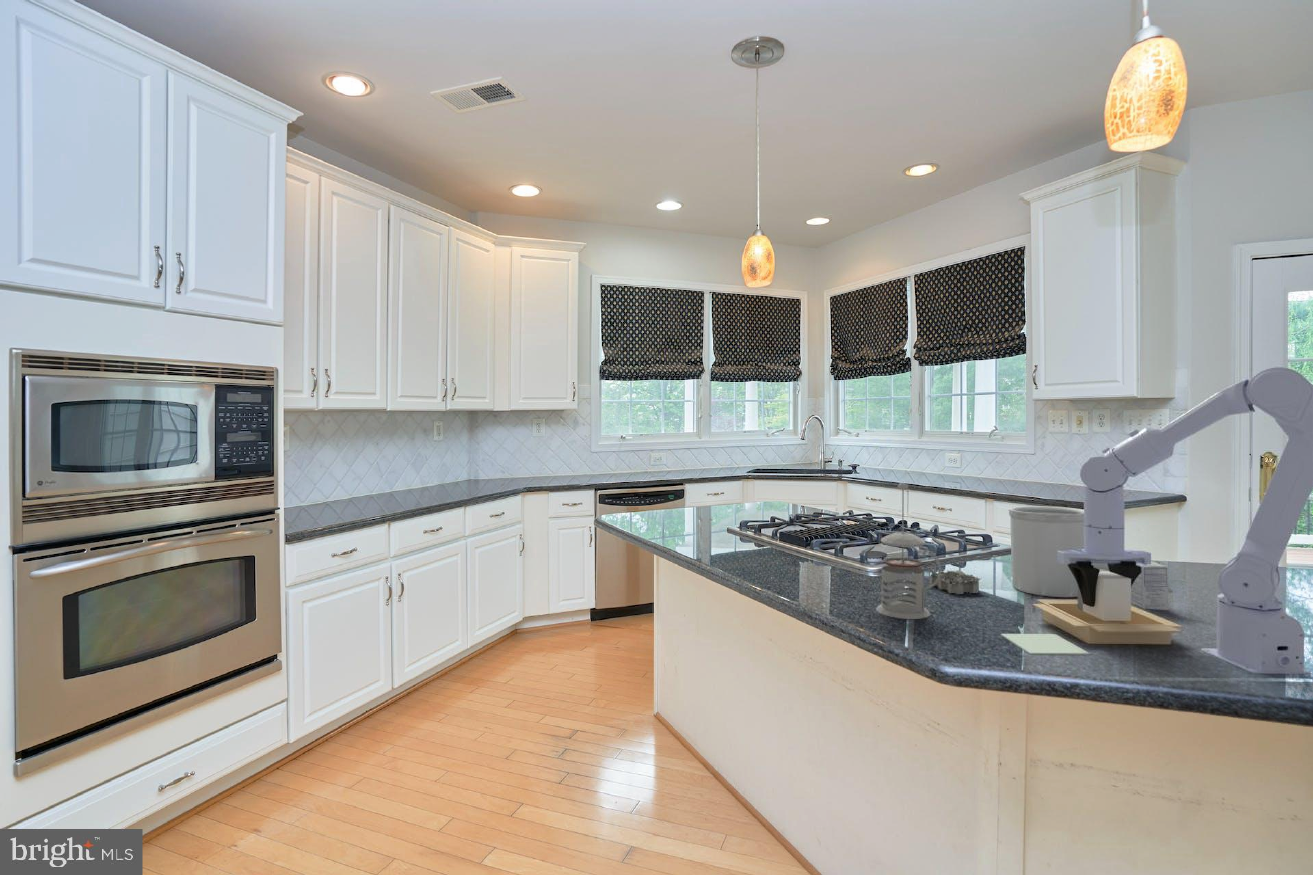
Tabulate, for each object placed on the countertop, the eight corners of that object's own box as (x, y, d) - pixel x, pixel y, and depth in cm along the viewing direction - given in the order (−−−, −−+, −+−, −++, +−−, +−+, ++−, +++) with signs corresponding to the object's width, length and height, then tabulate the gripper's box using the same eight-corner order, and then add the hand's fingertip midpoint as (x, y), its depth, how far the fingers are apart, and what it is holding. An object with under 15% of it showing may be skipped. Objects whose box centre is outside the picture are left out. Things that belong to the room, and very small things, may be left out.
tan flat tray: (1196, 651, 100) (1196, 630, 100) (1085, 651, 101) (1085, 629, 101) (1117, 617, 118) (1117, 599, 118) (1024, 616, 119) (1024, 598, 119)
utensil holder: (993, 584, 143) (993, 507, 142) (1041, 578, 148) (1041, 503, 148) (1054, 601, 129) (1055, 515, 129) (1105, 594, 134) (1105, 511, 134)
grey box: (1130, 620, 106) (1130, 578, 106) (1103, 620, 106) (1103, 578, 106) (1103, 608, 113) (1103, 569, 113) (1077, 608, 113) (1077, 569, 113)
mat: (1089, 656, 99) (1089, 653, 99) (1030, 656, 99) (1030, 652, 99) (1055, 637, 108) (1055, 633, 108) (1000, 637, 108) (1000, 633, 108)
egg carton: (924, 584, 145) (924, 566, 145) (955, 582, 146) (955, 565, 146) (951, 596, 135) (951, 576, 135) (984, 594, 135) (984, 575, 135)
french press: (881, 601, 130) (881, 479, 129) (943, 609, 124) (944, 481, 124) (870, 614, 122) (871, 483, 121) (936, 623, 116) (937, 486, 115)
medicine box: (1169, 612, 122) (1169, 567, 121) (1142, 610, 123) (1142, 566, 122) (1146, 600, 129) (1146, 558, 129) (1121, 599, 130) (1121, 557, 130)
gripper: (1130, 522, 113) (1130, 598, 113) (1047, 522, 114) (1047, 598, 114) (1160, 529, 106) (1160, 610, 106) (1071, 529, 107) (1071, 610, 107)
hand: (1103, 605), depth 110 cm, fingers closed on grey box, 4 cm apart
